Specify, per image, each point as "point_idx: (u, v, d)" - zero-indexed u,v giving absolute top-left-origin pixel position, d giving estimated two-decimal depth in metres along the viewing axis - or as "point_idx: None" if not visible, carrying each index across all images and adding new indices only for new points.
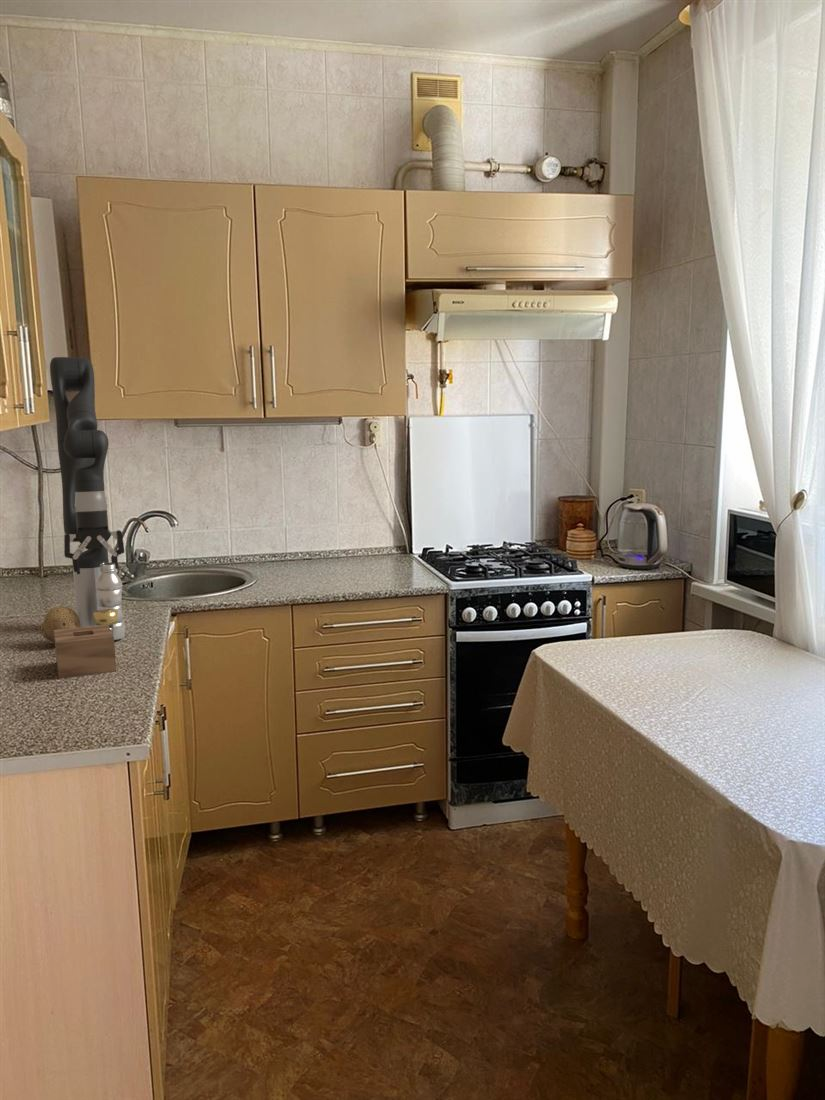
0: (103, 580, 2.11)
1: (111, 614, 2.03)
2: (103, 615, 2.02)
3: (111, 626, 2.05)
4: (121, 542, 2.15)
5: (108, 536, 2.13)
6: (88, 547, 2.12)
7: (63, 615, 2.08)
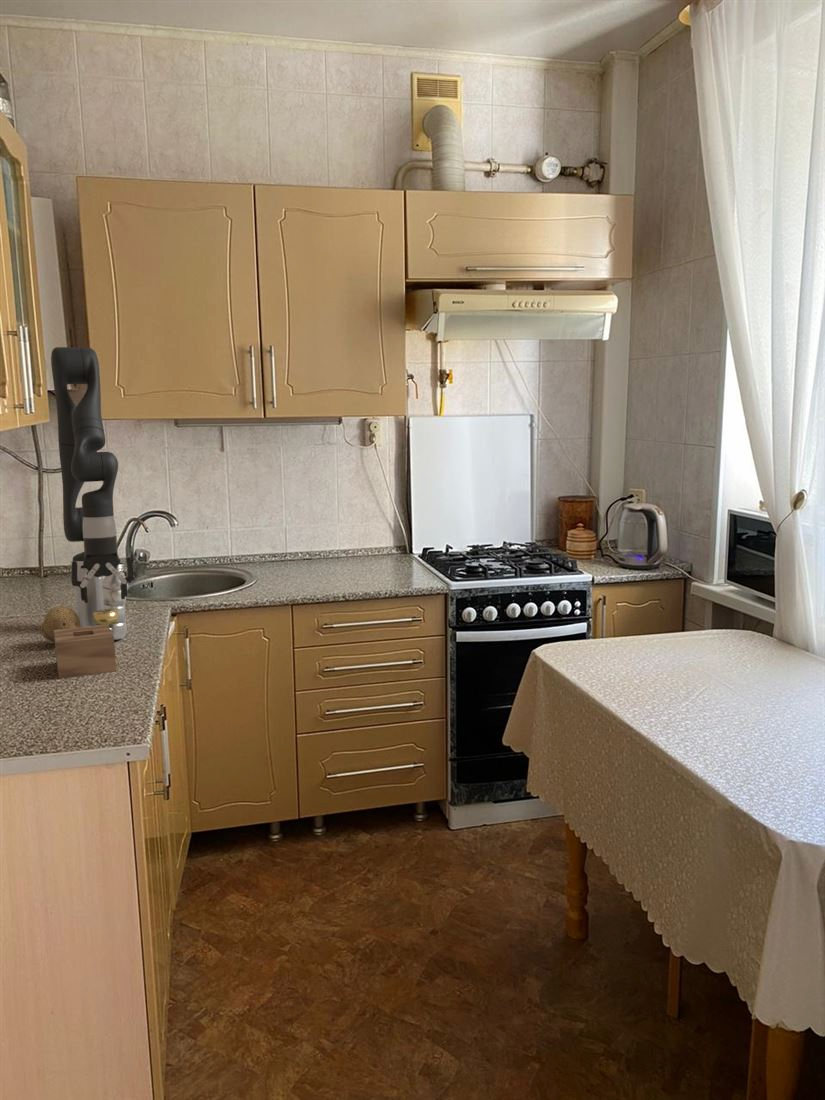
0: (110, 578, 2.11)
1: (111, 614, 2.03)
2: (103, 615, 2.02)
3: (111, 626, 2.05)
4: (131, 569, 2.05)
5: (117, 563, 2.03)
6: (96, 575, 2.02)
7: (63, 615, 2.08)
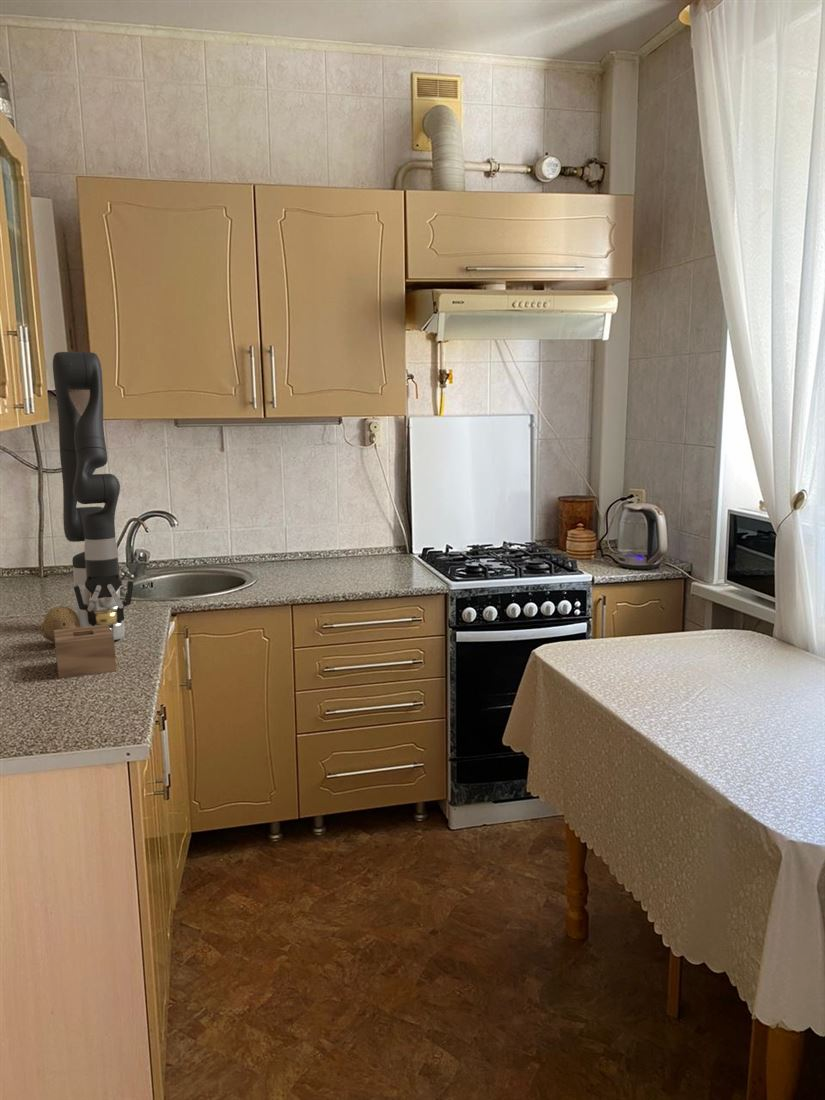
0: None
1: (111, 614, 2.03)
2: (103, 615, 2.02)
3: (111, 626, 2.05)
4: (130, 593, 2.05)
5: (119, 584, 2.04)
6: (98, 596, 2.02)
7: (63, 615, 2.08)
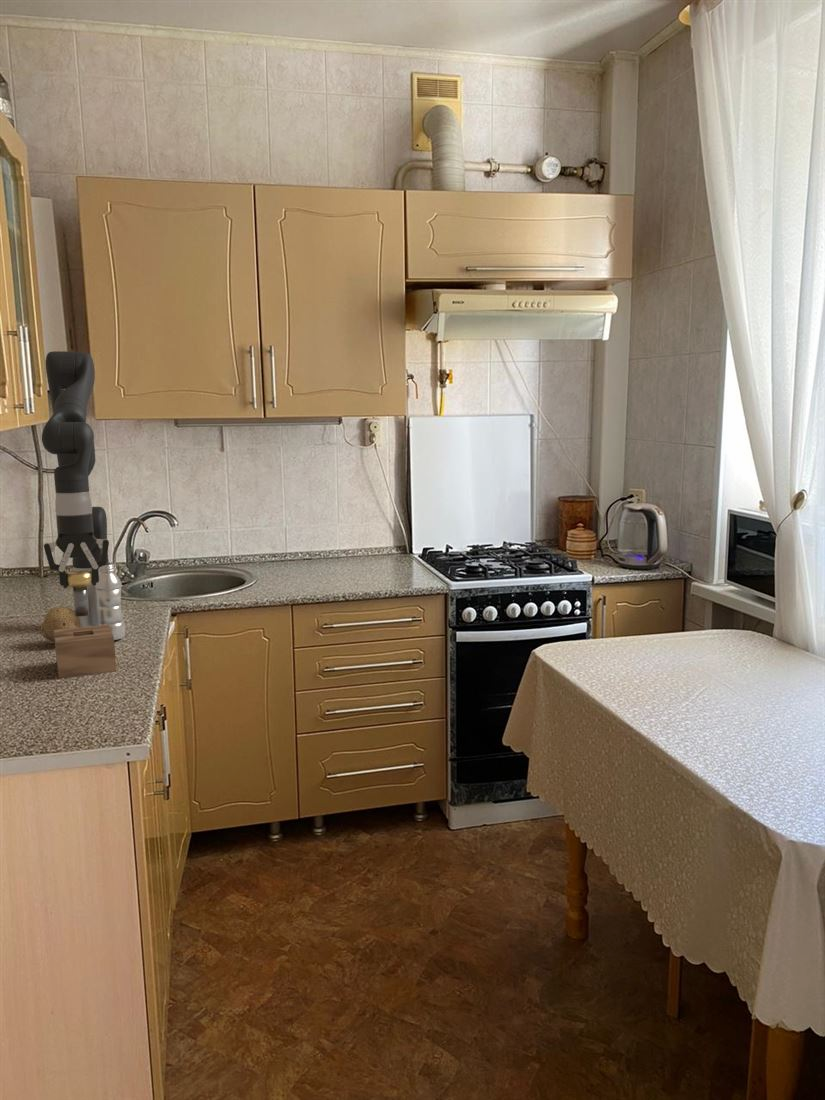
0: (102, 579, 2.11)
1: (85, 575, 1.87)
2: (76, 576, 1.86)
3: (85, 588, 1.89)
4: (105, 553, 1.89)
5: (93, 543, 1.88)
6: (70, 555, 1.86)
7: (63, 615, 2.08)
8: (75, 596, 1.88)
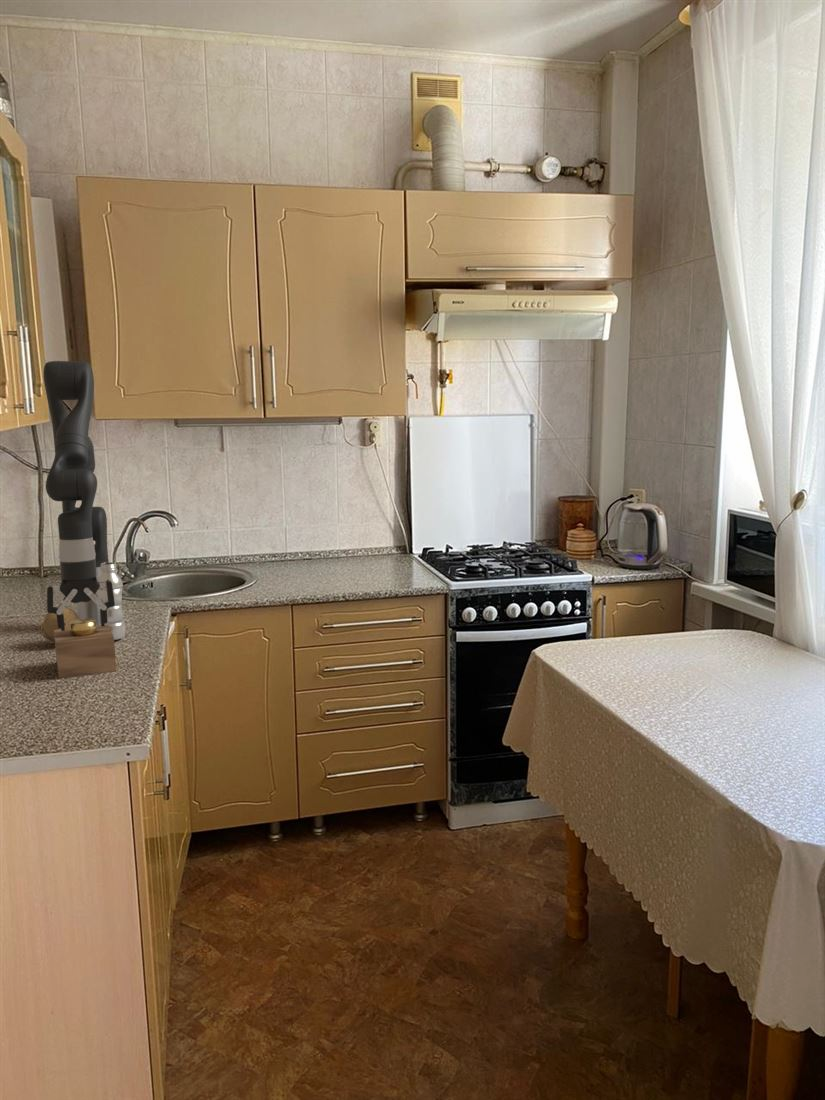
0: (103, 579, 2.11)
1: (89, 624, 1.89)
2: (80, 625, 1.88)
3: None
4: (111, 594, 1.91)
5: (96, 588, 1.90)
6: (74, 601, 1.88)
7: None
8: None
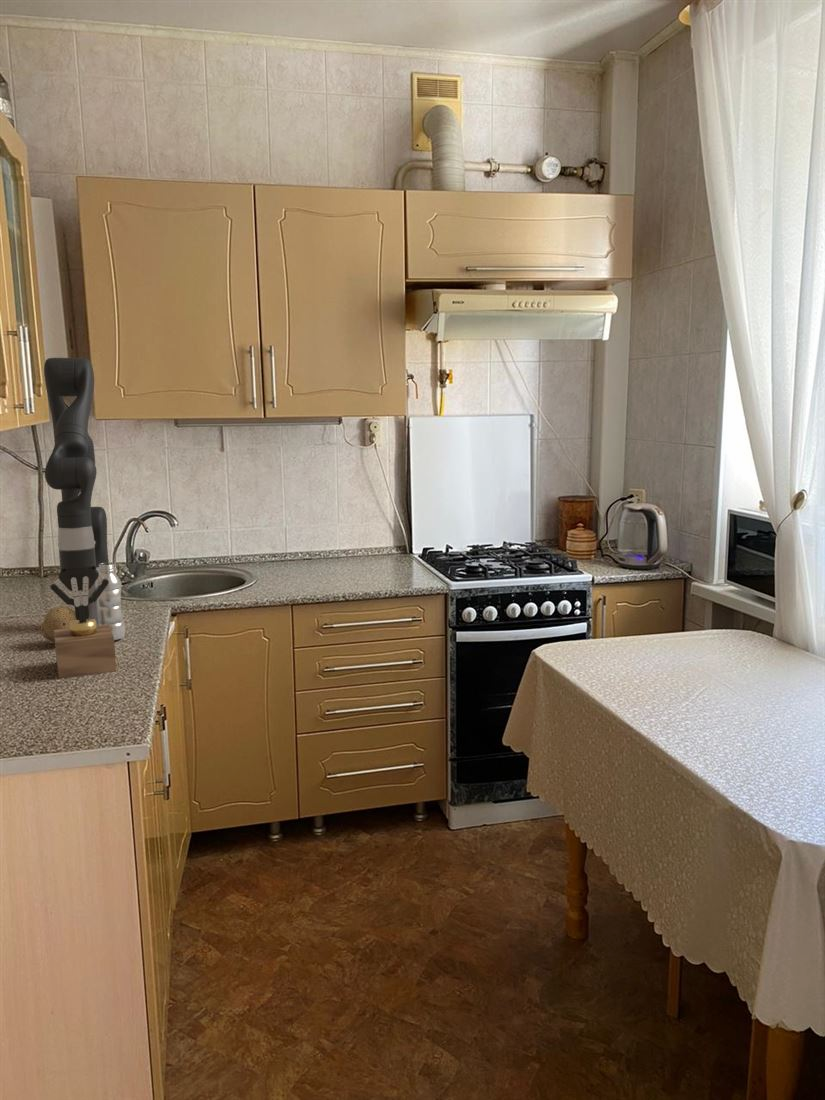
0: None
1: (89, 624, 1.89)
2: (80, 625, 1.88)
3: None
4: (100, 591, 1.90)
5: (96, 576, 1.89)
6: None
7: (63, 615, 2.08)
8: None
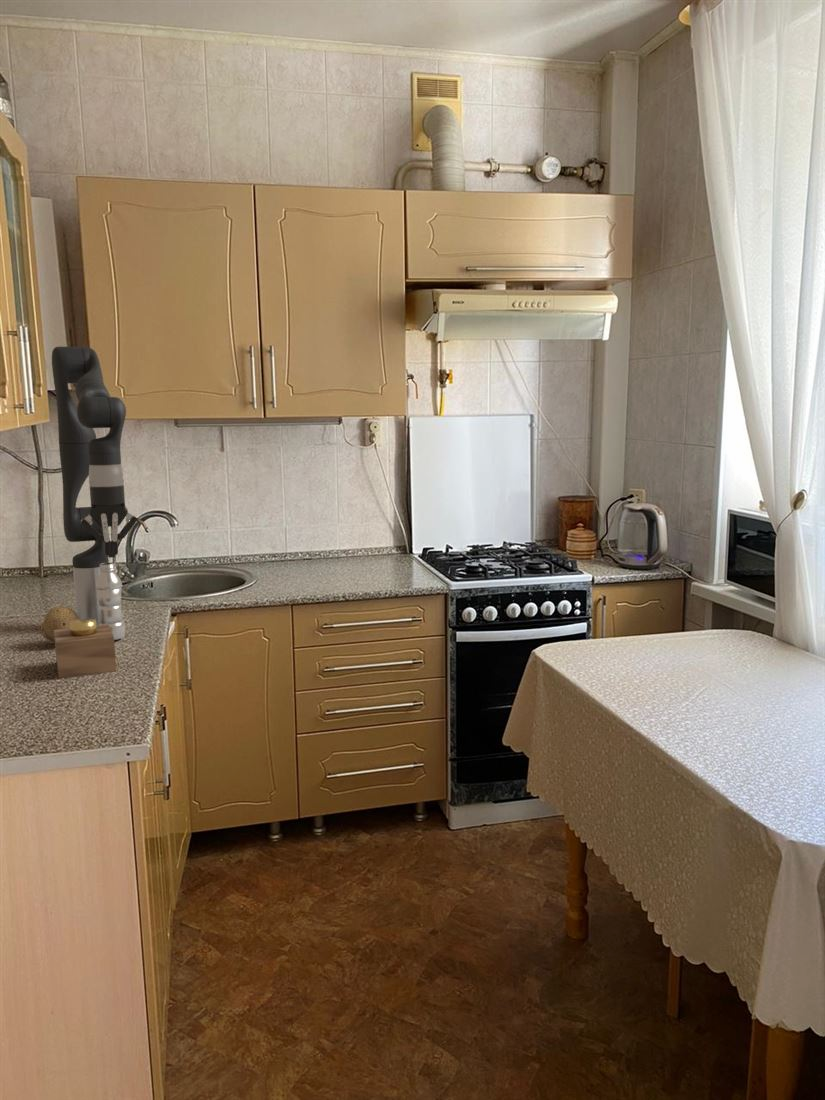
0: (102, 579, 2.11)
1: (89, 624, 1.89)
2: (80, 625, 1.88)
3: None
4: (128, 528, 1.97)
5: (125, 513, 1.96)
6: None
7: (63, 615, 2.08)
8: None
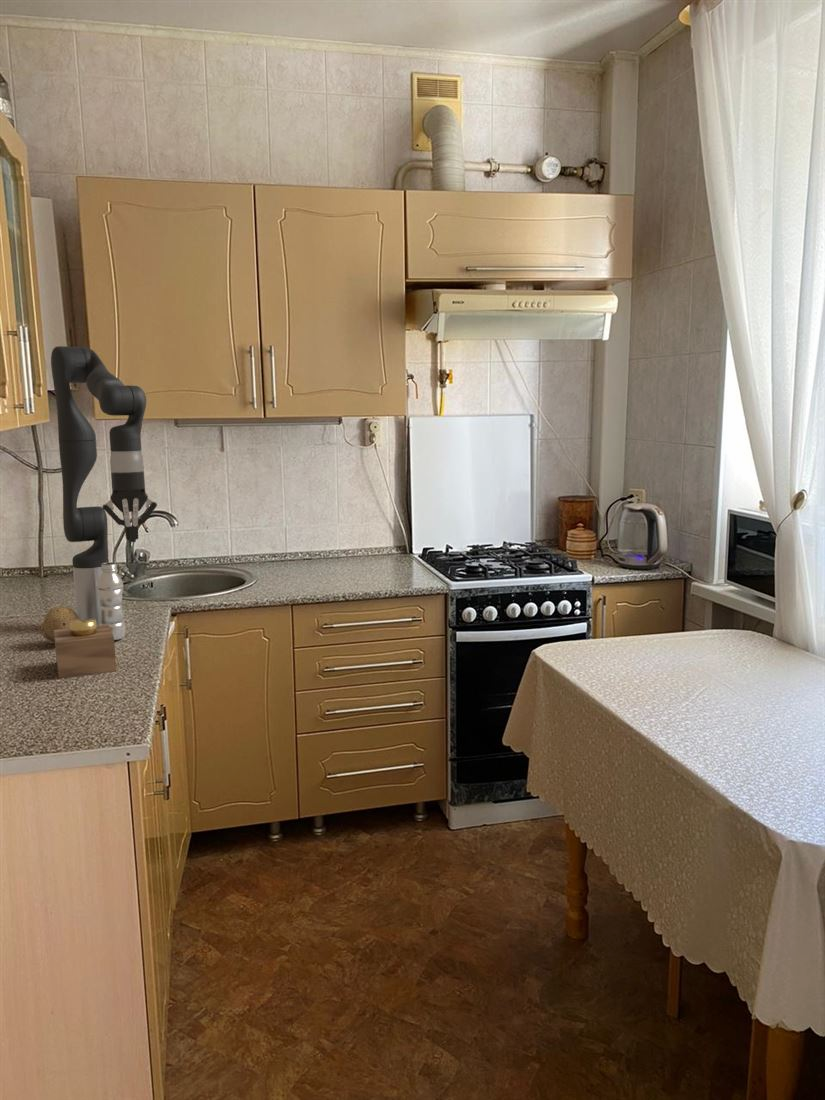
0: (103, 579, 2.11)
1: (89, 624, 1.89)
2: (80, 625, 1.88)
3: None
4: (148, 513, 2.02)
5: (145, 499, 2.01)
6: None
7: (63, 615, 2.08)
8: None
